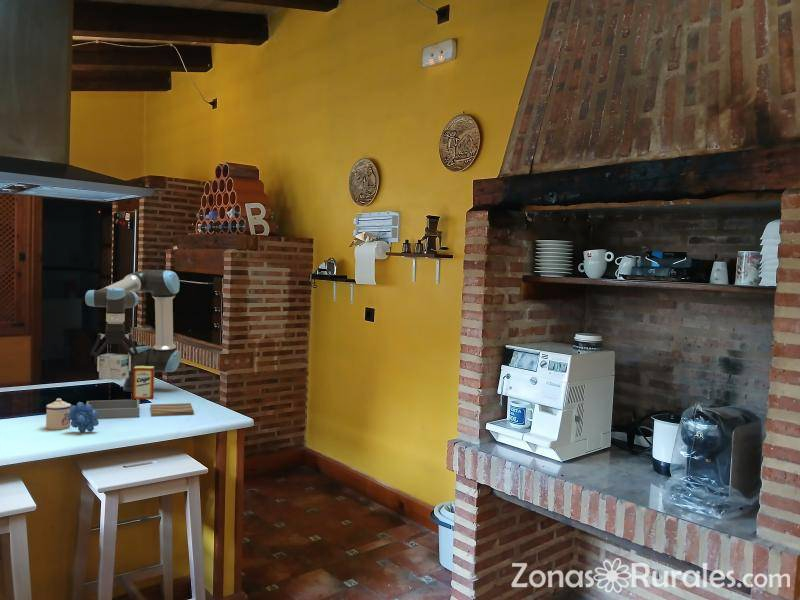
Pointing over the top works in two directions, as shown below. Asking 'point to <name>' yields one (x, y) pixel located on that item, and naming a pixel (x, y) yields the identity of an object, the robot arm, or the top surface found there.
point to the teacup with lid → (57, 415)
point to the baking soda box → (143, 382)
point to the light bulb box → (114, 366)
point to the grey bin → (115, 408)
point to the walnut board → (171, 409)
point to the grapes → (83, 417)
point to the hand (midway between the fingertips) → (114, 370)
